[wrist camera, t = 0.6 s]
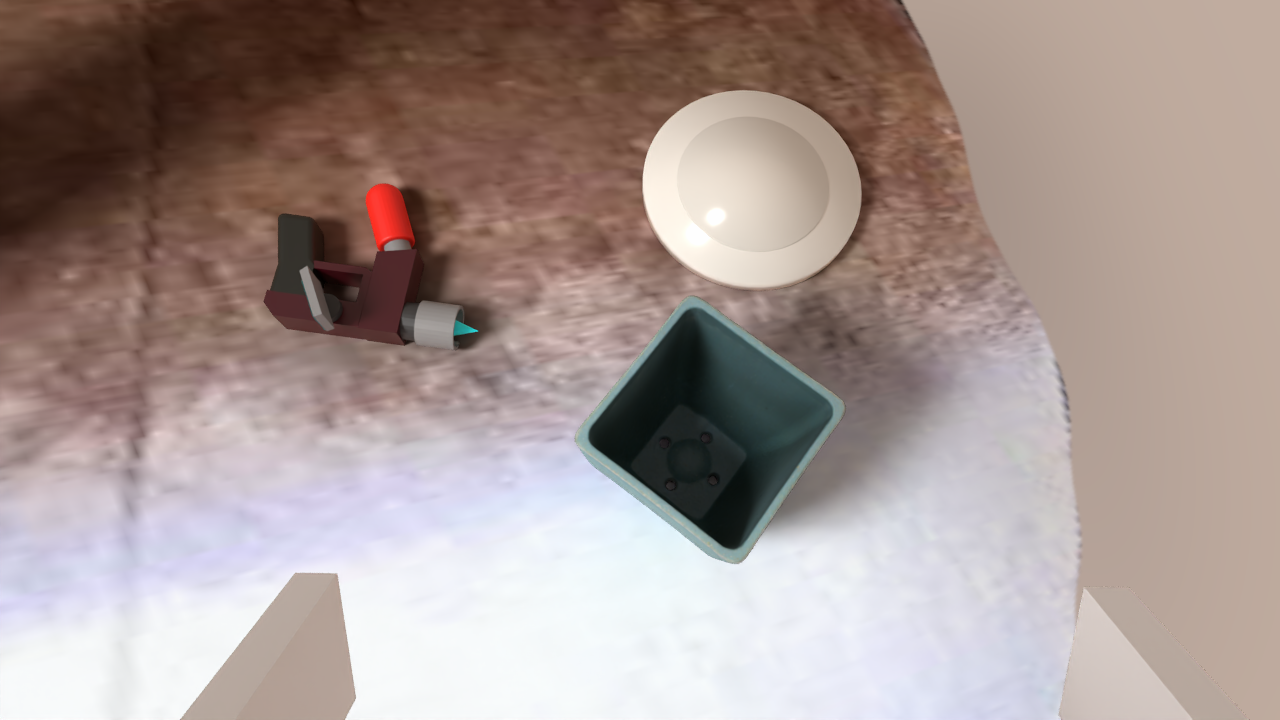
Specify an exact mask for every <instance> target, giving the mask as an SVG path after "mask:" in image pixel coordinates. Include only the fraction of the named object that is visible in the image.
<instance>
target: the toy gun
mask: <svg viewBox="0 0 1280 720" xmlns="http://www.w3.org/2000/svg"><path fill="white" fill-rule="evenodd" d="M366 205H367V209H368V213H369V217H370V221H371V224H372V228H373V232H374V236H375V240H376V243H377V247H378V250H379V252H377V254H376V258H375V262H374V266H373V270H372V272H371V271H370V270H368V269H367V268H365V267H358V266H351V265H344V264H336V263H329V262H324V238H323V233H322V231H321V229H320V228H319V227H318V225H317V224H316V222H315V221H314V220H313V219H312V218H311V217H306V216H299V215H292V214H281V215H280V216H279V217H278V266H277V269H276V272H275V276H274V279H273V282H272V286H271V289H270V290H267V292H266V295H265V299H264V303H265V304H266V306H267V307H268V309H269V310H270V312H271V313H272V315H273V316H274V317H275V318H276V319H277V320H278V321H279V322H280V323H281V324H282V325H283V326H285V327H286V328H287V329H292V330H299V331H307V332H314V333H321V334H329V335H336V336H343V337H351V338H358V339H366V340H368V341H374V342H382V343H389V344H397V345H404V346H405V344H406V340H411V341H415V343H416V344H417V345H420V346H427V347H435V348H442V349H449V350H457V349H458V347H459V342H457V341H454V336H456V335H461V334H467V333H472V332H478V331H477V330H475V329H473V328H471V327H469V326H467V325H465V324H463V323H464V309H463V306H461V305H454V304H447V303H440V302H432V301H425V300H423V301H421V303H415V301H416V297H417V293H418V288H419V284H420V280H421V276H422V271H423V267H424V263H423V261H422V259H421V257H420V255H419V252H418V250H417V249H411V248H412V247H413V246H414V244H415V239H414V235H413V232H412V228H411V224H410V221H409V217H408V214H407V210H406V207H405V203H404V199H403V196H402V194H401V192H400V191H399V190H398V189H397V188H396V187H394V186H392V185H390V184H378V185H375V186H374V187H372V188H371V189H370V190H369V192H368V193H367V196H366ZM325 282H326V283H330V284H337V285H344V286H352V287H359V288H360V289H359V293H358V297H357V300H356V302H351V301H343V300H338V298H337V297H336V296H334V295H332V294H324V293H323V290H324V286H325Z"/></svg>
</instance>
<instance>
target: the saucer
mask: <svg viewBox="0 0 1280 720" xmlns="http://www.w3.org/2000/svg"><path fill="white" fill-rule="evenodd" d="M861 194H862V192H861V181H860V176H859V172H858V168H857V165H856V163H855V160H854V158H853V155H852V154H851V152H850V150H849V148H848V146H847V145H846V143H845V142H844V140H843V139H842V138H841V136H840V135H839V134H838V133H837V131H836V130H835V129H834V128H833V127H832V126H831V125H830V124H829V123H828V122H827V121H825V120H824V119H823V118H822V117H821V116H819V115H818V114H817V113H815V112H813V111H812V110H810V109H809V108H807V107H805V106H804V105H802V104H800V103H798V102H796V101H793V100H791V99H788V98H785V97H783V96H779V95H775V94H771V93H767V92H760V91H746V90H740V91H727V92H722V93H717V94H713V95H710V96H707V97H704V98H701V99H699V100H697V101H695V102H692V103H690V104H689V105H687V106H686V107H684V108H682V109H681V110H679V111H678V112H677V113H676V114H674V115H673V116H672V117H671V118H670V119H669V120H668V121H667V122H666V123H665V124H664V125H663V126H662V127H661V129H660V130H659V132H658V133H657V135H656V136H655V138H654V140H653V142H652V144H651V146H650V148H649V150H648V154H647V157H646V160H645V165H644V172H643V181H642V196H643V203H644V208H645V212H646V215H647V219H648V221H649V223H650V226H651V228H652V230H653V232H654V234H655V235H656V237H657V238H658V240H659V242H660V243H661V244H662V246H663V247H664V248H665V249H666V250H667V252H668V253H669V254H670V255H671V256H672V257H673V258H674V259H675V260H677V261H678V262H679V263H680V264H681V265H683V266H684V267H685V268H687V269H688V270H689V271H691V272H692V273H694V274H696V275H698V276H700V277H702V278H703V279H705V280H708V281H710V282H713V283H715V284H718V285H721V286H725V287H729V288H733V289H739V290H746V291H766V290H776V289H780V288H785V287H789V286H792V285H795V284H798V283H800V282H803V281H805V280H807V279H809V278H811V277H812V276H814V275H816V274H817V273H819V272H820V271H821V270H823V269H824V268H826V267H827V266H828V265H829V264H830V263H831V262H832V261H833V260H834V259H835V258H836V256H837V255H838V254H839V253H840V251H841V250H842V249H843V247H844V246H845V244H846V243H847V241H848V239H849V237H850V236H851V234H852V232H853V230H854V228H855V225H856V223H857V220H858V217H859V212H860V207H861Z"/></svg>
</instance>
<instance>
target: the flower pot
mask: <svg viewBox="0 0 1280 720" xmlns="http://www.w3.org/2000/svg"><path fill="white" fill-rule="evenodd" d="M845 411H846V406H845V403H844V401H843V400H842V399H840V398H839V397H838V396H837V395H836V394H834V393H833V392H832V391H830V390H828V389H827V388H826V387H824V386H823V385H821V384H820V383H819V382H817V381H816V380H814V379H813V378H811V377H810V376H809V375H807V374H806V373H804V372H803V371H801V370H800V369H799V368H797V367H796V366H794V365H793V364H792V363H790V362H789V361H788V360H786V359H785V358H783V357H782V356H780V355H779V354H777V353H776V352H775V351H773V350H772V349H771V348H769V347H768V346H766V345H765V344H764V343H762V342H761V341H760V340H758V339H757V338H755V337H754V336H752V335H751V334H750V333H748V332H747V331H746V330H744V329H743V328H742V327H740V326H739V325H738V324H736V323H735V322H733V321H732V320H731V319H729V318H728V317H726V316H725V315H724V314H722V313H721V312H720V311H719V310H717V309H716V308H714V307H713V306H711V305H710V304H709V303H708V302H706V301H704V300H703V299H701V298H699V297H697V296H688V297H687V298H685V299H684V300H683V301H682V302H681V303H680V304H679V305H678V307H677V308H676V309H675V310H674V312H673V313H672V314H671V315H670V317H669V318H668V319H667V321H666V322H665V323H664V324H663V326H662V327H661V328H660V330H659V331H658V332H657V334H656V335H655V336H654V337H653V338H652V340H651V341H650V342H649V344H648V345H647V346H646V348H645V349H644V350H643V351H642V352H641V354H640V355H639V356H638V357H637V359H636V360H635V361H634V362H633V364H632V365H631V366H630V367H629V368H628V370H627V371H626V372H625V373H624V374H623V376H622V377H621V378H620V379H619V381H618V382H617V383H616V384H615V385H614V386H613V388H612V389H611V390H610V391H609V393H608V394H607V395H606V396H605V398H604V399H603V400H602V401H601V402H600V403H599V405H598V406H597V407H596V408H595V410H594V411H593V412H592V413H591V414H590V415H589V417H588V418H587V419H586V420H585V421H584V423H583V424H582V425H581V426H580V427H579V429H578V431H577V432H576V434H575V443H576V444H577V446H578V447H579V448H580V450H581V451H582V453H583V454H584V456H585V457H586V459H587V460H588V461H589V462H590V463H591V464H592V465H593V466H594V467H595V468H596V469H598V470H599V471H600V472H602V473H603V474H604V475H606V476H607V477H608V478H610V479H611V480H612V481H614V482H615V483H616V484H618V485H619V486H620V487H622V488H623V489H624V490H626V491H627V492H628V493H630V494H631V495H632V496H633V497H635V498H636V499H637V500H639V501H640V502H641V503H643V504H644V505H645V506H647V507H648V508H649V509H650V510H652V511H653V512H654V513H656V514H657V515H658V516H659V517H661V518H662V519H663V520H665V521H666V522H667V523H668V524H670V525H671V526H672V527H674V528H675V529H676V530H677V531H679V532H680V533H681V534H682V535H684V536H685V537H686V538H687V539H689V540H690V541H691V542H692V543H694V544H695V545H696V546H697V547H699V548H700V549H701V550H702V551H703V552H705V553H706V554H707V555H709V556H711V557H713V558H715V559H718V560H721V561H725V562H728V563H732V564H739V563H741V562H742V561H744V560H745V559H746V557H747V556H748V554H749V553H750V552H751V550H752V549H753V547H754V546H755V544H756V542H757V541H758V539H759V538H760V536H761V535H762V533H763V532H764V530H765V529H766V527H767V526H768V524H769V523H770V521H771V520H772V519H773V517H774V515H775V514H776V512H777V511H778V509H779V508H780V506H781V505H782V504H783V502H784V500H785V499H786V498H787V496H788V495H789V493H790V492H791V490H792V489H793V488H794V486H795V485H796V483H797V482H798V480H799V479H800V477H801V476H802V474H803V473H804V471H805V470H806V468H807V467H808V466H809V464H810V463H811V461H812V460H813V459H814V457H815V455H816V454H817V453H818V451H819V450H820V449H821V447H822V446H823V444H824V443H825V442H826V440H827V439H828V438H829V436H830V434H831V433H832V432H833V431H834V429H835V428H836V427H837V425H838V424H839V422H840V421H841V420H842V418H843V416H844V414H845ZM703 434H707V435H709V436H710V441H709V442H708V443H704V442H702V440H701V436H702V435H703ZM661 439H667V440H668V441H669V446H668V447H667V448H662V447H661V446H660V444H659V442H660V440H661ZM710 476H716V478H717V483H716V484H715V485H711V484H709V482H708V478H709V477H710ZM670 480H671V481H673V482H674V483H675V489H673V490H668V489H667V488H666V482H668V481H670Z"/></svg>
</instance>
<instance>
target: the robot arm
mask: <svg viewBox="0 0 1280 720" xmlns="http://www.w3.org/2000/svg"><path fill="white" fill-rule="evenodd" d="M355 699H356V695H355V688H354V682H353V675H352V668H351V662H350V655H349V648H348V642H347V635H346V628H345V622H344V615H343V609H342V602H341V595H340V589H339V582H338V575H337V574H331V573H295V574H294V575H293V577H292V578H291V579H290V580H289V582H288V583H287V584H286V586H285V587H284V588H283V589H282V591H281V592H280V593H279V594H278V596H277V597H276V598H275V600H274V601H273V602H272V603H271V605H270V606H269V607H268V609H267V610H266V611H265V612H264V614H263V615H262V616H261V617H260V619H259V620H258V621H257V623H256V624H255V625H254V626H253V628H252V629H251V630H250V631H249V633H248V634H247V635H246V637H245V638H244V639H243V640H242V642H241V643H240V644H239V645H238V647H237V648H236V649H235V651H234V652H233V653H232V654H231V656H230V657H229V658H228V659H227V661H226V662H225V663H224V665H223V666H222V667H221V668H220V670H219V671H218V672H217V673H216V675H215V676H214V677H213V679H212V680H211V681H210V682H209V684H208V685H207V686H206V687H205V689H204V690H203V691H202V693H201V694H200V695H199V696H198V698H197V699H196V700H195V702H194V703H193V704H192V705H191V707H190V708H189V709H188V710H187V712H186V713H185V714H184V716H183V717H182V718H181V719H180V720H345V718H346V716H347V714H348V712H349V710H350V709H351V707H352V705H353V703H354V701H355ZM1059 717H1060V718H1061V720H1250V719H1249V718H1248V717H1247V716H1246V715H1245V714H1244V713H1243V712H1242V711H1241V710H1240V708H1239V707H1238V706H1237V705H1236V704H1235V703H1234V702H1233V701H1232V700H1231V699H1230V698H1229V696H1227V694H1226V693H1225V692H1224V691H1223V690H1222V689H1221V688H1220V686H1219V685H1217V683H1216V682H1215V681H1214V680H1213V679H1212V678H1211V677H1210V675H1209V674H1208V673H1207V672H1206V671H1205V670H1204V669H1203V668H1202V667H1201V666H1200V664H1199V663H1198V662H1197V661H1196V660H1195V659H1194V658H1193V657H1192V656H1191V655H1190V654H1189V653H1188V651H1187V650H1186V649H1185V648H1184V647H1183V646H1182V645H1181V644H1180V642H1179V641H1178V640H1177V639H1176V638H1175V637H1174V636H1173V635H1172V634H1171V633H1170V631H1169V630H1167V628H1166V627H1165V626H1164V625H1163V624H1162V623H1161V622H1160V621H1159V619H1158V618H1157V617H1156V616H1155V615H1154V614H1153V613H1152V612H1151V611H1150V609H1148V607H1147V606H1146V605H1145V604H1144V603H1143V602H1142V601H1141V600H1140V598H1139V597H1138V596H1137V595H1136V594H1135V593H1134V592H1133V591H1132V590H1131V589H1130V587H1084V589H1083V594H1082V599H1081V604H1080V609H1079V614H1078V619H1077V624H1076V629H1075V634H1074V639H1073V644H1072V649H1071V654H1070V659H1069V664H1068V669H1067V674H1066V679H1065V685H1064V690H1063V695H1062V700H1061V705H1060V710H1059Z"/></svg>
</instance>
